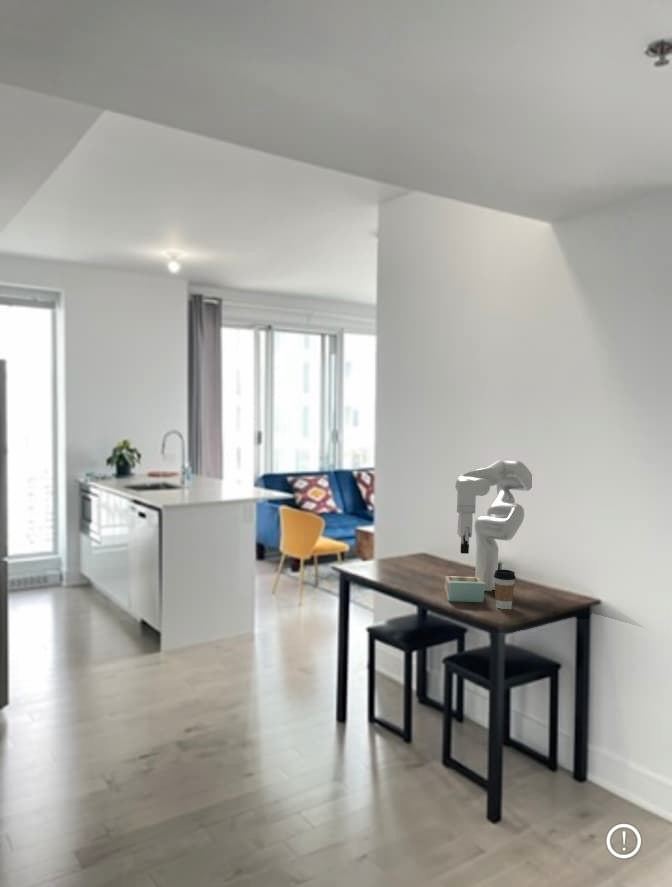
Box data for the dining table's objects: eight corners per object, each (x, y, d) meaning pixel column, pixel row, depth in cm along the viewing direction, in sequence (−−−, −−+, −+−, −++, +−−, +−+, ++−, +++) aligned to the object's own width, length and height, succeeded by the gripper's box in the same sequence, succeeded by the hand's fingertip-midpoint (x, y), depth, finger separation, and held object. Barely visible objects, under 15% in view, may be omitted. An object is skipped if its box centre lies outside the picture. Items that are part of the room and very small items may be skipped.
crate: (478, 593, 287) (478, 577, 287) (482, 601, 275) (483, 584, 275) (444, 592, 288) (445, 576, 288) (447, 600, 276) (448, 583, 276)
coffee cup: (496, 611, 262) (497, 573, 262) (490, 604, 271) (491, 568, 270) (517, 611, 263) (518, 573, 262) (510, 605, 271) (512, 568, 270)
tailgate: (482, 600, 275) (484, 581, 271) (483, 602, 274) (485, 583, 270) (448, 599, 276) (449, 580, 272) (448, 601, 275) (449, 582, 271)
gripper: (454, 506, 286) (453, 549, 287) (459, 511, 271) (457, 556, 272) (472, 506, 286) (471, 549, 287) (478, 512, 271) (476, 557, 272)
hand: (464, 553), depth 279 cm, fingers closed
